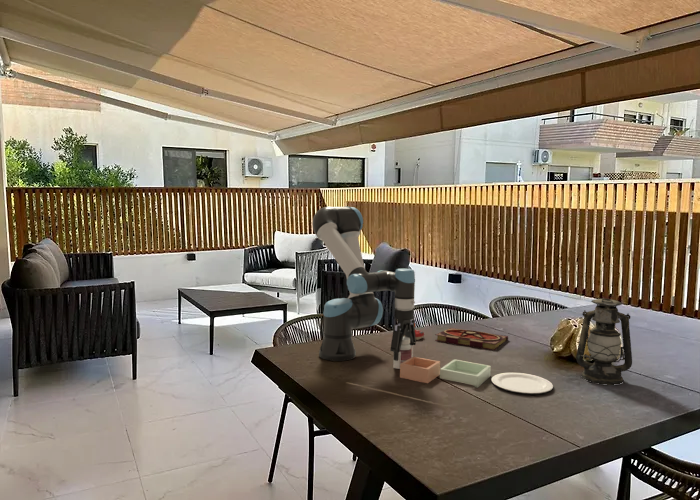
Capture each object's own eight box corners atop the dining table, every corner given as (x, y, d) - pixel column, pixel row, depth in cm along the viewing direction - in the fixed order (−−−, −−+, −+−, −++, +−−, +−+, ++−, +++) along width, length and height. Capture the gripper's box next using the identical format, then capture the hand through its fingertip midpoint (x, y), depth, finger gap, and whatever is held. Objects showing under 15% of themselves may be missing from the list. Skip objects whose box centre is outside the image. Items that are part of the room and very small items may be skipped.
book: (508, 342, 245) (508, 332, 245) (494, 352, 227) (495, 340, 227) (450, 333, 260) (451, 324, 260) (434, 342, 242) (434, 331, 242)
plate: (522, 401, 171) (522, 396, 171) (478, 381, 189) (479, 377, 189) (566, 391, 180) (566, 386, 180) (521, 373, 199) (521, 369, 199)
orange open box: (399, 378, 190) (400, 363, 189) (413, 370, 199) (413, 356, 199) (427, 384, 184) (428, 369, 184) (439, 376, 193) (440, 361, 193)
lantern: (627, 375, 196) (632, 297, 194) (637, 393, 178) (642, 306, 176) (573, 369, 202) (577, 293, 200) (577, 386, 185) (582, 302, 182)
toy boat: (404, 334, 255) (404, 318, 254) (426, 337, 248) (426, 322, 247) (397, 337, 248) (397, 321, 248) (418, 341, 242) (419, 325, 241)
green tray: (439, 379, 190) (439, 369, 189) (454, 369, 201) (454, 359, 201) (477, 387, 182) (478, 376, 182) (490, 376, 194) (490, 365, 193)
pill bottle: (414, 367, 203) (414, 338, 202) (401, 370, 200) (402, 341, 199) (404, 363, 208) (404, 335, 207) (392, 365, 205) (392, 337, 204)
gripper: (399, 315, 191) (398, 374, 193) (425, 305, 210) (424, 358, 212) (381, 312, 195) (380, 370, 197) (408, 302, 214) (407, 355, 216)
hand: (403, 364), depth 204 cm, fingers open, 10 cm apart
